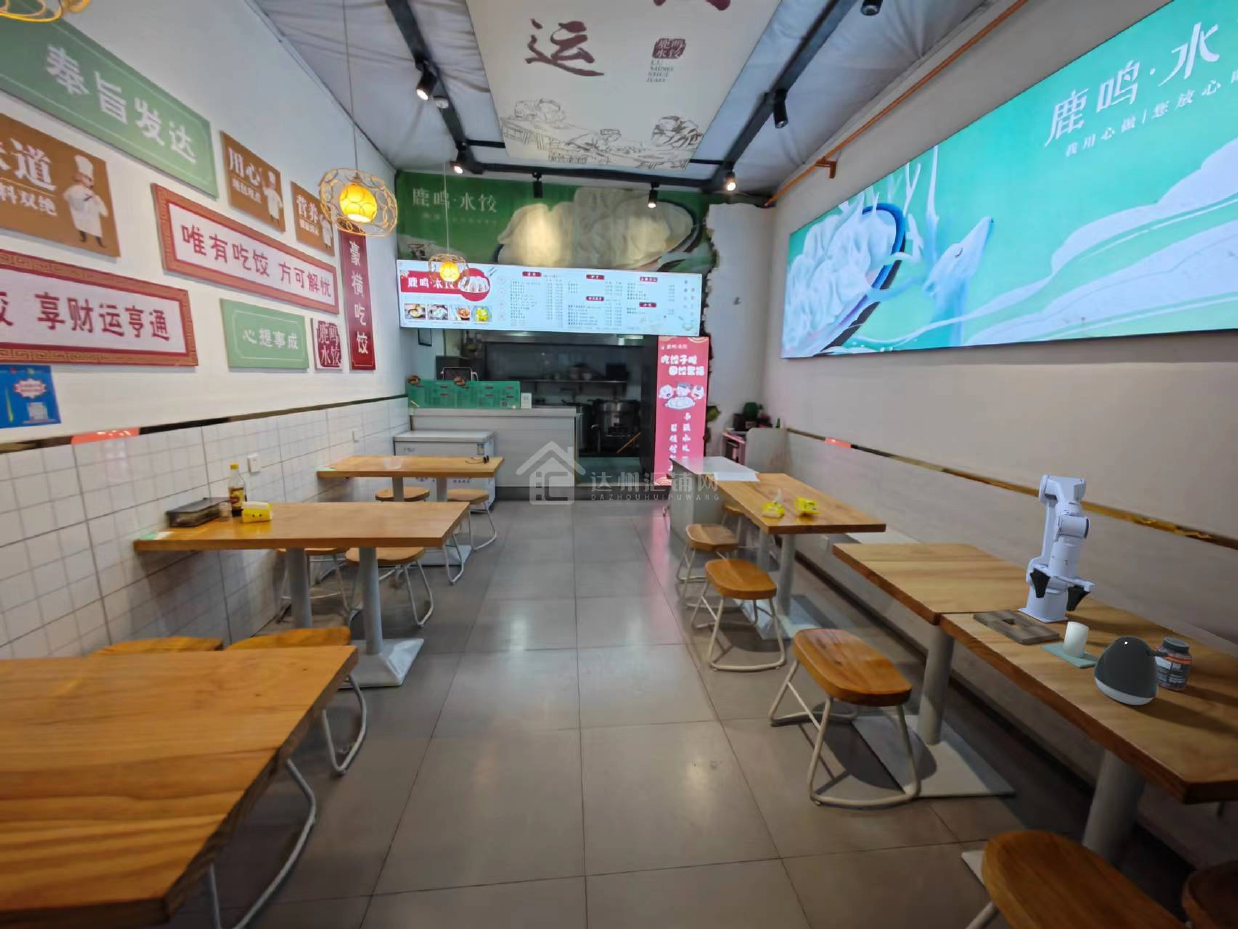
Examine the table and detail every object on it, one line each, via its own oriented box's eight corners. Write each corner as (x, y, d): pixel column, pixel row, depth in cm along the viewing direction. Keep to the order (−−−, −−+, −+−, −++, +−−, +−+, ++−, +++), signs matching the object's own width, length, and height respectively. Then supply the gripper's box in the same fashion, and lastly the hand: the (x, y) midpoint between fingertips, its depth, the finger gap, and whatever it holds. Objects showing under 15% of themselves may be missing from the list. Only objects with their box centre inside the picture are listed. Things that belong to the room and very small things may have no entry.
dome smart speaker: (1141, 718, 103) (1158, 655, 100) (1080, 688, 112) (1094, 630, 109) (1163, 705, 107) (1180, 645, 104) (1102, 678, 116) (1116, 622, 113)
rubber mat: (1065, 643, 131) (1065, 641, 131) (1104, 663, 123) (1105, 661, 122) (1040, 647, 129) (1041, 645, 129) (1079, 667, 120) (1079, 665, 120)
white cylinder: (1069, 648, 128) (1075, 621, 127) (1086, 656, 124) (1093, 628, 123) (1058, 649, 127) (1063, 622, 126) (1075, 658, 123) (1081, 630, 122)
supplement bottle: (1166, 677, 117) (1178, 635, 115) (1192, 693, 111) (1205, 650, 109) (1140, 675, 118) (1151, 634, 116) (1164, 691, 112) (1176, 648, 110)
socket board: (1008, 613, 147) (1009, 609, 147) (1058, 638, 134) (1060, 633, 134) (972, 618, 144) (973, 614, 143) (1021, 644, 130) (1022, 639, 130)
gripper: (1025, 549, 135) (1016, 593, 138) (1085, 570, 122) (1074, 618, 124) (1043, 547, 137) (1034, 591, 140) (1104, 568, 123) (1093, 615, 126)
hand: (1054, 603), depth 132 cm, fingers open, 7 cm apart
